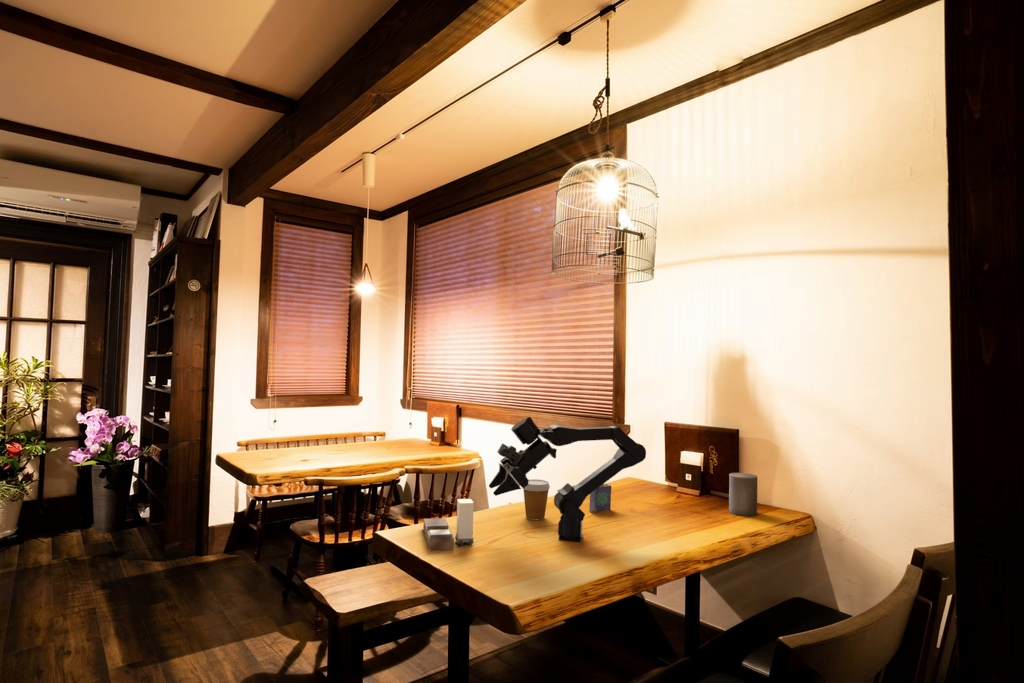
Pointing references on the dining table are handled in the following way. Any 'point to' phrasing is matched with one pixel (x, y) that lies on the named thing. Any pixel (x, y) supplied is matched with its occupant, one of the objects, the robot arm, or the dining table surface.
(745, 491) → the pillar candle
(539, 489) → the disposable coffee cup
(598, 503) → the flask
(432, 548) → the dock
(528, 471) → the robot arm
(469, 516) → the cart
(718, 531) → the dining table surface
